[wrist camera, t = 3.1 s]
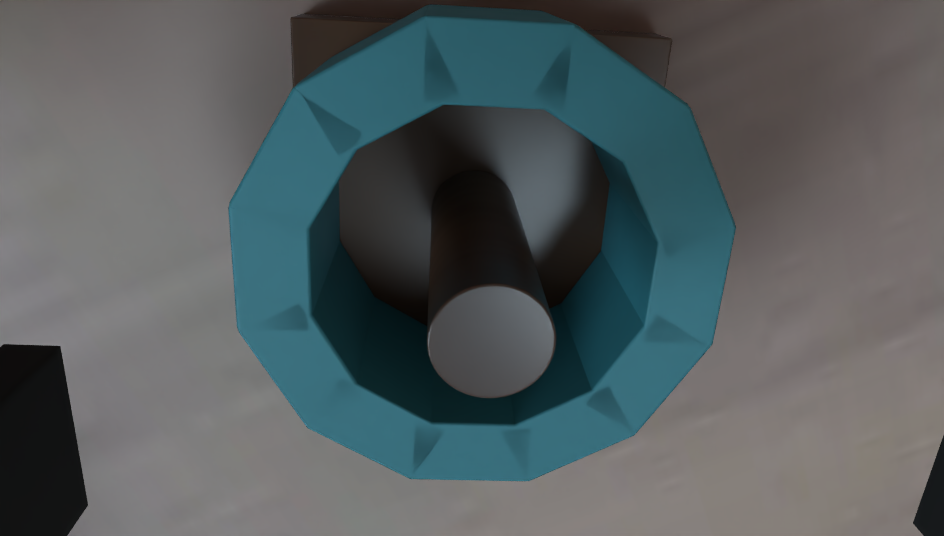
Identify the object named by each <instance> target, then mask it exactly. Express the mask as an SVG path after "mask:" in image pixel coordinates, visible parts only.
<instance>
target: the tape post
mask: <svg viewBox="0 0 944 536" xmlns="http://www.w3.org/2000/svg"><path fill="white" fill-rule="evenodd" d="M399 20H400V19H382V18H364V17H347V16H329V15H311V14H300V15H297V16H294V17H291V46H292V74H293V88H294V87H295V86H296V85H297V84H298V83H299V82H300V81H302V80H303V79H304V78H305V77H307V76H308V75H309V74H310V73H312V72H313V71H314V70H315V69H317V68H318V67H319V66H321V65H322V64H323V63H324V62H326V61H327V60H328V59H329V58H331V57H333V56H334V55H336V54H338V53H340V52H342V51H344V50H345V49H347V48H349V47H351V46H353V45H355V44H356V43H358V42H360V41H362V40H364V39H366V38H367V37H369V36H371V35H373V34H375V33H377V32H378V31H380V30H382V29H384V28H386V27H388V26H390V25H391V24H393V23H395V22H397V21H399ZM585 31H586V32H588V33H589V34H590V35H592V36H593V37H595V38H596V39H597V40H599V41H600V42H602V43H603V44H604V45H606V46H607V47H609V48H610V49H611V50H613V51H614V52H616V53H617V54H618V55H620V56H621V57H623V58H624V59H625V60H627V61H628V62H630V63H631V64H632V65H634V66H635V67H637V68H638V69H639V70H641V71H642V72H644V73H645V74H646V75H648V76H649V77H651V78H652V79H653V80H655V81H656V82H658V83H659V84H660V85H662V86H663V87H665V84H666V78H667V71H668V65H669V58H670V52H671V45H672V39H671V38H669V37H665V36H662V35H658V34H650V33H632V32H614V31H596V30H585ZM609 185H610V182H609V180H608V178H607V176H606V173H605V171H604V169H603V167H602V164H601V162H600V160H599V158H598V155H597V153H596V151H595V149H594V146H593V144H592V142H591V141H590V140H589V139H587V138H586V137H584V136H583V135H581V134H580V133H578V132H577V131H575V130H574V129H572V128H571V127H569V126H568V125H566V124H565V123H563V122H562V121H560V120H559V119H557V118H556V117H554V116H553V115H552V114H550V113H549V112H547V111H546V110H543V109H523V108H503V107H483V106H462V105H442V106H440V107H439V108H437V109H435V110H433V111H431V112H429V113H427V114H425V115H423V116H421V117H419V118H417V119H415V120H414V121H412V122H410V123H408V124H406V125H404V126H402V127H400V128H398V129H396V130H394V131H392V132H391V133H389V134H387V135H385V136H383V137H381V138H379V139H377V140H375V141H373V142H371V143H369V144H368V145H366V146H364V147H362V148H360V149H358V150H357V151H356V153H355V154H354V156H353V158H352V159H351V161H350V163H349V164H348V166H347V168H346V169H345V171H344V173H343V174H342V176H341V178H340V179H339V222H340V242H341V243H342V245H343V247H344V248H345V250H346V252H347V253H348V255H349V256H350V258H351V260H352V261H353V263H354V264H355V266H356V268H357V269H358V271H359V273H360V274H361V276H362V277H363V279H364V281H365V282H366V284H367V286H368V287H369V289H370V290H371V292H372V294H373V295H374V297H376V298H377V299H379V300H381V301H383V302H385V303H386V304H388V305H390V306H392V307H394V308H395V309H397V310H399V311H401V312H402V313H404V314H406V315H408V316H410V317H411V318H413V319H415V320H417V321H419V322H420V323H422V324H424V325H426V326H427V350H428V355H429V358H430V361H431V363H432V365H433V367H434V369H435V370H436V372H437V373H438V375H439V376H440V377H441V378H442V379H443V380H444V381H445V382H446V383H447V384H449V385H450V386H451V387H453V388H454V389H456V390H458V391H460V392H462V393H464V394H467V395H470V396H475V397H480V398H499V397H505V396H509V395H512V394H515V393H518V392H520V391H522V390H524V389H526V388H527V387H529V386H530V385H532V384H533V383H534V382H535V381H537V380H538V379H539V378H540V377H541V376H542V374H543V373H544V372H545V370H546V369H547V368H548V366H549V364H550V362H551V360H552V358H553V355H554V352H555V347H556V329H555V325H554V322H553V319H552V315H551V312H550V308H552V307H554V306H556V305H559V304H561V303H562V302H563V300H564V299H565V298H566V296H567V295H568V294H569V292H570V291H571V290H572V288H573V287H574V286H575V284H576V283H577V282H578V281H579V279H580V278H581V277H582V275H583V274H584V273H585V271H586V270H587V269H588V267H589V266H590V265H591V263H592V262H593V261H594V259H595V258H596V257H597V255H598V254H599V253H600V251H601V246H602V239H603V231H604V223H605V216H606V208H607V200H608V193H609Z"/></svg>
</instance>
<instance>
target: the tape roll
mask: <svg viewBox="0 0 944 536" xmlns="http://www.w3.org/2000/svg"><path fill="white" fill-rule="evenodd" d="M442 105H462V106H483V107H503V108H523V109H543V110H546V111H547V112H549V113H550V114H552V115H553V116H554V117H556V118H557V119H559V120H560V121H562V122H563V123H565V124H566V125H568V126H569V127H571V128H572V129H574V130H575V131H577V132H578V133H580V134H581V135H583V136H584V137H586V138H587V139H589V140H590V141H591V142H592V144H593V146H594V149H595V151H596V153H597V155H598V158H599V160H600V162H601V164H602V167H603V169H604V171H605V173H606V176H607V178H608V180H609V182H610V185H609V193H608V200H607V208H606V216H605V223H604V231H603V239H602V246H601V251H600V253H599V254H598V255H597V257H596V258H595V259H594V261H593V262H592V263H591V265H590V266H589V267H588V269H587V270H586V271H585V273H584V274H583V275H582V277H581V278H580V279H579V281H578V282H577V283H576V284H575V286H574V287H573V288H572V290H571V291H570V292H569V294H568V295H567V296H566V298H565V299H564V300H563V302H562V303H561V304H559V305H556V306H554V307H552V308H550V312H551V315H552V319H553V322H554V325H555V329H556V347H555V352H554V355H553V358H552V360H551V362H550V364H549V366H548V368H547V369H546V370H545V372H544V373H543V374H542V376H541V377H540V378H539V379H538V380H537V381H535V382H534V383H533V384H532V385H530V386H529V387H527V388H526V389H524V390H522V391H520V392H518V393H515V394H512V395H509V396H505V397H499V398H480V397H475V396H470V395H467V394H464V393H462V392H460V391H458V390H456V389H454V388H453V387H451V386H450V385H449V384H447V383H446V382H445V381H444V380H443V379H442V378H441V377H440V376H439V375H438V373H437V372H436V370H435V369H434V367H433V365H432V363H431V361H430V358H429V355H428V350H427V326H426V325H424V324H422V323H420V322H419V321H417V320H415V319H413V318H411V317H410V316H408V315H406V314H404V313H402V312H401V311H399V310H397V309H395V308H394V307H392V306H390V305H388V304H386V303H385V302H383V301H381V300H379V299H377V298H376V297H374V295H373V294H372V292H371V290H370V289H369V287H368V286H367V284H366V282H365V281H364V279H363V277H362V276H361V274H360V273H359V271H358V269H357V268H356V266H355V264H354V263H353V261H352V260H351V258H350V256H349V255H348V253H347V252H346V250H345V248H344V247H343V245H342V243H341V242H340V222H339V179H340V178H341V176H342V174H343V173H344V171H345V169H346V168H347V166H348V164H349V163H350V161H351V159H352V158H353V156H354V154H355V153H356V151H357V150H358V149H360V148H362V147H364V146H366V145H368V144H369V143H371V142H373V141H375V140H377V139H379V138H381V137H383V136H385V135H387V134H389V133H391V132H392V131H394V130H396V129H398V128H400V127H402V126H404V125H406V124H408V123H410V122H412V121H414V120H415V119H417V118H419V117H421V116H423V115H425V114H427V113H429V112H431V111H433V110H435V109H437V108H439V107H440V106H442ZM228 209H229V222H230V236H231V250H232V264H233V277H234V291H235V305H236V318H237V328H238V330H239V333H240V334H241V336H242V337H243V338H244V340H245V341H246V343H247V344H248V345H249V347H250V348H251V350H252V351H253V352H254V354H255V355H256V357H257V358H258V359H259V361H260V362H261V364H262V365H263V366H264V368H265V369H266V371H267V372H268V373H269V375H270V376H271V378H272V379H273V380H274V382H275V383H276V385H277V386H278V387H279V389H280V390H281V392H282V393H283V394H284V396H285V397H286V399H287V400H288V401H289V403H290V404H291V406H292V407H293V408H294V410H295V411H296V413H297V414H298V415H299V417H300V418H301V420H302V421H303V422H304V424H305V425H306V427H307V428H309V429H311V430H313V431H315V432H317V433H319V434H321V435H323V436H325V437H327V438H329V439H331V440H333V441H335V442H337V443H339V444H341V445H343V446H345V447H347V448H349V449H351V450H353V451H355V452H357V453H359V454H361V455H363V456H365V457H367V458H369V459H371V460H373V461H375V462H377V463H379V464H381V465H383V466H385V467H387V468H389V469H391V470H393V471H395V472H397V473H399V474H401V475H403V476H405V477H407V478H409V479H440V480H491V481H530V480H532V479H535V478H537V477H539V476H542V475H544V474H546V473H548V472H551V471H553V470H555V469H558V468H560V467H562V466H565V465H567V464H569V463H572V462H574V461H576V460H578V459H581V458H583V457H585V456H588V455H590V454H592V453H595V452H597V451H599V450H602V449H604V448H606V447H608V446H611V445H613V444H615V443H618V442H620V441H622V440H625V439H627V438H629V437H632V436H634V435H635V433H637V432H638V430H639V429H640V428H641V427H642V426H643V425H644V423H645V422H646V421H647V420H648V419H649V418H650V416H651V415H652V414H653V413H654V412H655V411H656V409H657V408H658V407H659V406H660V405H661V404H662V402H663V401H664V400H665V399H666V398H667V397H668V395H669V394H670V393H671V392H672V391H673V390H674V388H675V387H676V386H677V385H678V384H679V383H680V381H681V380H682V379H683V378H684V377H685V376H686V374H687V373H688V372H689V371H690V370H691V369H692V367H693V366H694V365H695V364H696V363H697V362H698V360H699V359H700V358H701V357H702V356H703V355H704V353H705V352H706V351H707V350H708V349H709V348H710V346H711V345H712V343H713V339H714V334H715V329H716V324H717V319H718V314H719V309H720V304H721V299H722V294H723V289H724V284H725V279H726V274H727V269H728V264H729V259H730V254H731V250H732V245H733V240H734V235H735V230H736V226H735V222H734V220H733V217H732V214H731V212H730V209H729V207H728V204H727V201H726V199H725V196H724V193H723V191H722V188H721V186H720V183H719V180H718V178H717V175H716V173H715V170H714V167H713V165H712V162H711V160H710V157H709V154H708V152H707V149H706V147H705V144H704V141H703V139H702V136H701V134H700V131H699V128H698V126H697V123H696V121H695V118H694V115H693V113H692V110H691V108H690V107H689V106H688V104H687V103H685V102H684V101H683V100H681V99H680V98H679V97H677V96H676V95H674V94H673V93H672V92H670V91H669V90H667V89H666V88H665V87H663V86H662V85H660V84H659V83H658V82H656V81H655V80H653V79H652V78H651V77H649V76H648V75H646V74H645V73H644V72H642V71H641V70H639V69H638V68H637V67H635V66H634V65H632V64H631V63H630V62H628V61H627V60H625V59H624V58H623V57H621V56H620V55H618V54H617V53H616V52H614V51H613V50H611V49H610V48H609V47H607V46H606V45H604V44H603V43H602V42H600V41H599V40H597V39H596V38H595V37H593V36H592V35H590V34H589V33H588V32H586V31H585V30H583V29H582V28H581V27H579V26H578V25H576V24H574V23H571V22H569V21H566V20H563V19H561V18H558V17H556V16H553V15H551V14H548V13H546V12H543V11H537V10H519V9H502V8H484V7H467V6H450V5H432V4H430V5H426V6H424V7H423V8H421V9H419V10H417V11H415V12H413V13H412V14H410V15H408V16H406V17H404V18H402V19H401V20H399V21H397V22H395V23H393V24H391V25H390V26H388V27H386V28H384V29H382V30H380V31H378V32H377V33H375V34H373V35H371V36H369V37H367V38H366V39H364V40H362V41H360V42H358V43H356V44H355V45H353V46H351V47H349V48H347V49H345V50H344V51H342V52H340V53H338V54H336V55H334V56H333V57H331V58H329V59H328V60H327V61H326V62H324V63H323V64H322V65H321V66H319V67H318V68H317V69H315V70H314V71H313V72H312V73H310V74H309V75H308V76H307V77H305V78H304V79H303V80H302V81H300V82H299V83H298V84H297V85H296V86H295V87H294V88H293V89H292V91H291V92H290V94H289V96H288V98H287V100H286V101H285V103H284V105H283V107H282V109H281V110H280V112H279V114H278V116H277V118H276V120H275V121H274V123H273V125H272V127H271V129H270V130H269V132H268V134H267V136H266V138H265V139H264V141H263V143H262V145H261V147H260V148H259V150H258V152H257V154H256V156H255V157H254V159H253V161H252V163H251V165H250V166H249V168H248V170H247V172H246V174H245V175H244V177H243V179H242V181H241V183H240V184H239V186H238V188H237V190H236V192H235V194H234V195H233V197H232V199H231V201H230V204H229V208H228Z"/></svg>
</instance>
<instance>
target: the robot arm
mask: <svg viewBox="0 0 944 536" xmlns="http://www.w3.org/2000/svg"><path fill="white" fill-rule="evenodd" d="M87 506H88V502H87V496H86V491H85V485H84V479H83V474H82V468H81V462H80V456H79V451H78V445H77V439H76V433H75V428H74V422H73V416H72V411H71V405H70V399H69V393H68V388H67V382H66V376H65V371H64V365H63V359H62V353H61V348H60V346H41V345H11V344H4V345H2V346H1V347H0V536H67V535H68V534H69V532H70V531H71V529H72V528H73V526H74V525H75V523H76V522H77V520H78V519H79V518H80V516H81V515H82V513H83V512H84V510H85V509H86V507H87ZM913 524H914V525H915V526H916V527H917V528H918V530H919V531H920V532H921V533H922V534H923V535H924V536H944V436H943V439H942V442H941V444H940V447H939V450H938V453H937V456H936V459H935V462H934V465H933V467H932V470H931V473H930V476H929V479H928V482H927V485H926V487H925V490H924V493H923V496H922V499H921V502H920V505H919V507H918V510H917V513H916V516H915V519H914V522H913Z"/></svg>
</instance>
